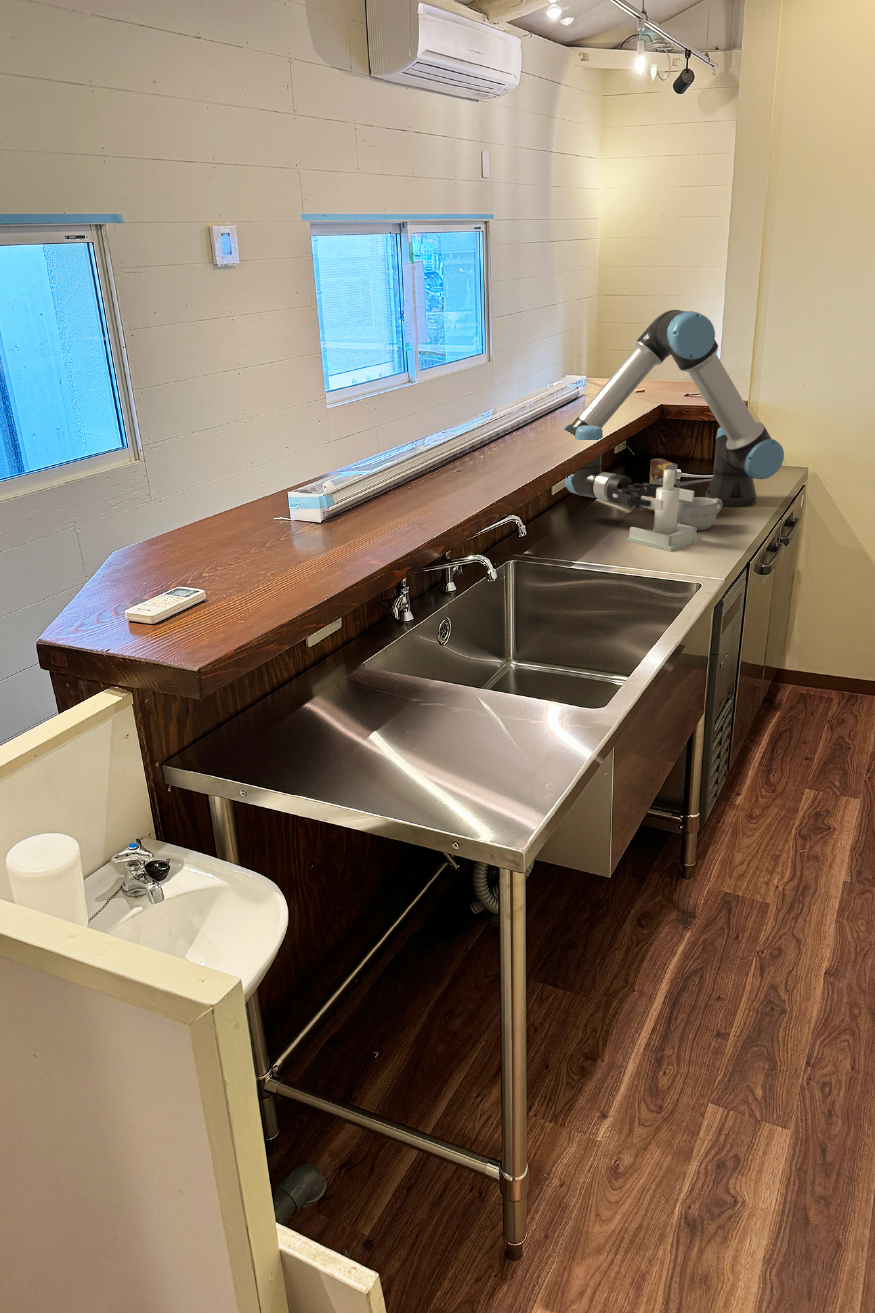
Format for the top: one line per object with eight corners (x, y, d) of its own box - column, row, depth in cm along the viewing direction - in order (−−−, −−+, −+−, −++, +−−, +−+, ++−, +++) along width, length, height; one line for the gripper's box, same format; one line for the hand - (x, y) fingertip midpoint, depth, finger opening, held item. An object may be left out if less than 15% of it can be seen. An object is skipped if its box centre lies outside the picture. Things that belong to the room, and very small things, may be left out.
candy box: (646, 509, 288) (650, 459, 282) (659, 508, 289) (663, 457, 283) (661, 516, 280) (665, 464, 274) (674, 515, 281) (678, 463, 275)
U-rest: (658, 530, 266) (659, 518, 264) (701, 540, 256) (702, 528, 255) (627, 540, 257) (628, 528, 256) (670, 551, 248) (671, 538, 246)
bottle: (661, 532, 260) (666, 467, 253) (680, 537, 256) (685, 470, 249) (648, 537, 256) (653, 470, 249) (667, 541, 252) (672, 473, 245)
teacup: (687, 534, 262) (690, 506, 259) (668, 524, 271) (670, 497, 268) (732, 530, 265) (735, 501, 262) (712, 520, 275) (714, 493, 272)
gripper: (641, 493, 274) (704, 506, 259) (584, 509, 259) (647, 523, 244) (642, 467, 271) (706, 479, 256) (585, 481, 256) (649, 494, 241)
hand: (678, 500), depth 250 cm, fingers open, 13 cm apart
